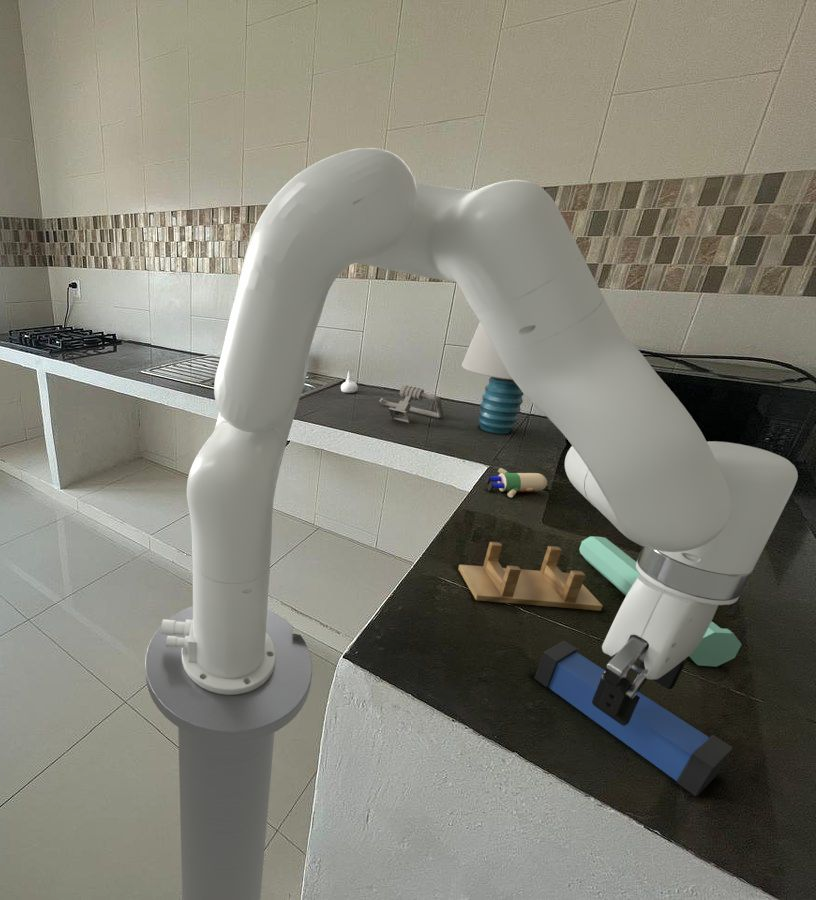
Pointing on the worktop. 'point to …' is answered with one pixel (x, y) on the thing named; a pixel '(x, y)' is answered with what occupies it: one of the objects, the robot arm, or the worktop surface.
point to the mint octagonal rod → (623, 574)
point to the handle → (637, 722)
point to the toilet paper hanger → (404, 406)
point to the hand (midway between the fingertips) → (632, 696)
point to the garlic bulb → (349, 385)
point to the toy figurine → (517, 482)
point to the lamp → (493, 385)
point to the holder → (528, 583)
